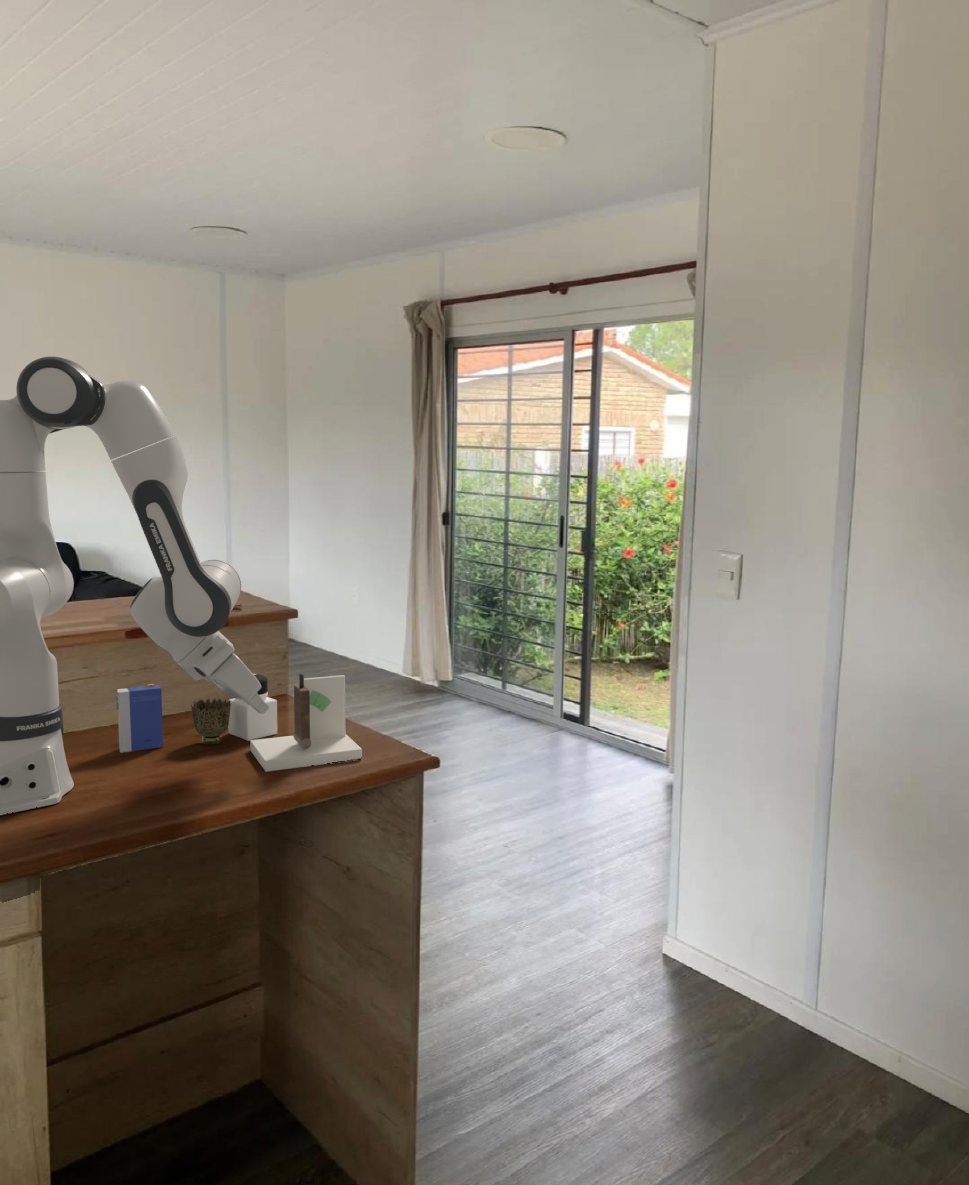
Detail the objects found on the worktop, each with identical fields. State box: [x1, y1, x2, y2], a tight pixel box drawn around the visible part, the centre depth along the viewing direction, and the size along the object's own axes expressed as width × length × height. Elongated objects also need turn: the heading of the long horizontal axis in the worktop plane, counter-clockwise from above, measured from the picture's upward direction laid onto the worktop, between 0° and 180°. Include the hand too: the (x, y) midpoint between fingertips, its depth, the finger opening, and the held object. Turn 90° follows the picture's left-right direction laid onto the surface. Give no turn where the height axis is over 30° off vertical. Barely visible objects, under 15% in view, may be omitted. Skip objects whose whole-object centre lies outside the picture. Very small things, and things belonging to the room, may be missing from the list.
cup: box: [190, 698, 231, 746], centre depth 188 cm, size 8×7×8 cm
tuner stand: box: [249, 674, 363, 772], centre depth 181 cm, size 18×13×14 cm
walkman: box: [115, 683, 164, 754], centre depth 184 cm, size 8×3×12 cm, turn 119°
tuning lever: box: [293, 673, 311, 749], centre depth 179 cm, size 2×5×14 cm, turn 25°
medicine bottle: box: [227, 673, 278, 742], centre depth 194 cm, size 7×7×12 cm
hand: (265, 710), depth 171 cm, fingers closed
